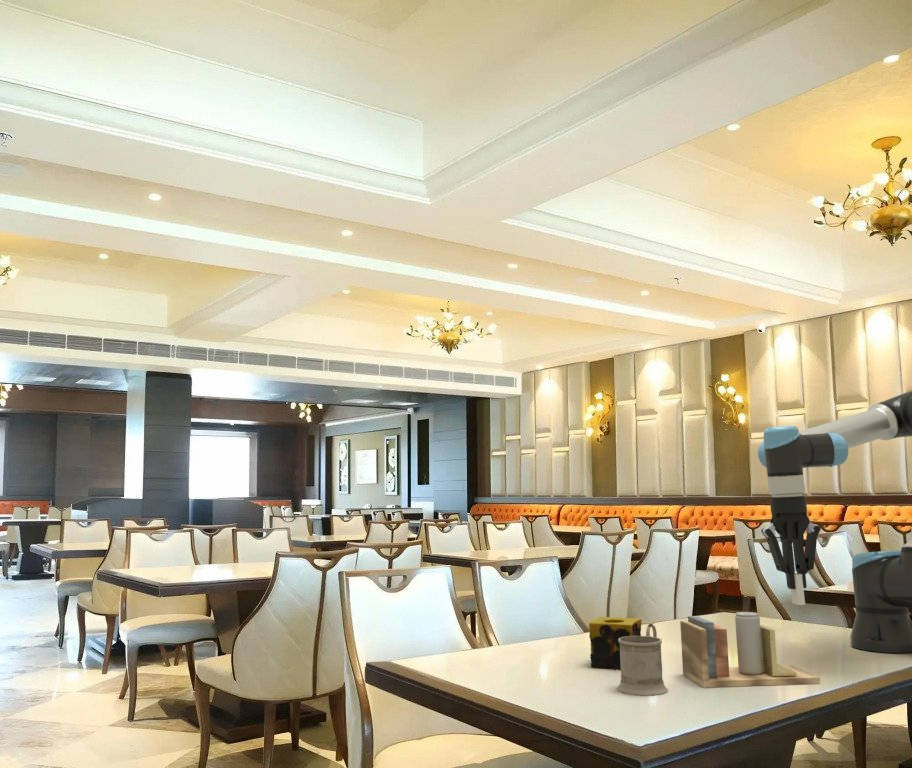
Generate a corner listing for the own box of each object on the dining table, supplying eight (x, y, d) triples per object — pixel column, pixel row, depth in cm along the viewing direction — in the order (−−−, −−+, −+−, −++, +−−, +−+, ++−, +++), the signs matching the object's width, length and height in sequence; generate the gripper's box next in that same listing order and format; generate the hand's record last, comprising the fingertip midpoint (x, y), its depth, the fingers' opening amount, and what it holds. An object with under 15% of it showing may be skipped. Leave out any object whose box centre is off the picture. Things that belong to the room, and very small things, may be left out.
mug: (658, 698, 156) (655, 632, 157) (609, 692, 161) (606, 629, 163) (681, 682, 168) (678, 622, 170) (635, 677, 173) (632, 619, 175)
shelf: (792, 671, 177) (788, 612, 178) (820, 683, 165) (815, 621, 166) (683, 674, 175) (679, 615, 177) (703, 687, 163) (699, 624, 165)
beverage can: (751, 676, 167) (747, 615, 168) (733, 672, 171) (729, 613, 173) (768, 673, 169) (764, 613, 171) (750, 669, 173) (746, 611, 175)
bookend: (776, 666, 175) (773, 622, 176) (796, 675, 166) (793, 629, 167) (754, 667, 175) (751, 623, 176) (772, 676, 166) (769, 630, 167)
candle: (645, 662, 189) (642, 618, 190) (635, 671, 180) (633, 624, 181) (601, 659, 193) (599, 616, 194) (589, 668, 184) (588, 622, 185)
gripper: (806, 493, 187) (818, 599, 184) (751, 497, 186) (762, 603, 183) (824, 494, 180) (836, 604, 177) (767, 497, 178) (778, 608, 176)
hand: (798, 603), depth 180 cm, fingers closed
